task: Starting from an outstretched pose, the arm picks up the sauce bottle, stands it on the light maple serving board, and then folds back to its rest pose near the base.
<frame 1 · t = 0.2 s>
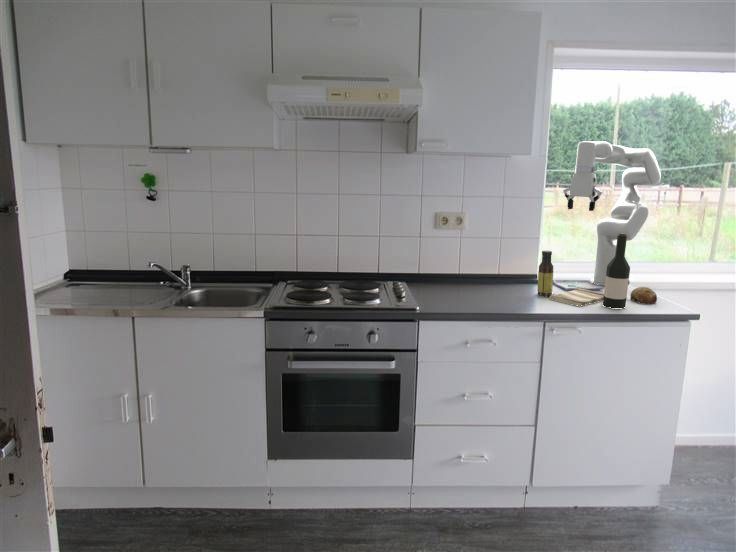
hand: (580, 209, 225), 37 cm above the countertop, tool pointing down, fingers open, 9 cm apart
bread roll: (643, 301, 215), on the countertop
sauce bottle: (544, 296, 223), on the countertop
wine bottle: (613, 307, 207), on the countertop
board: (579, 299, 218), on the countertop
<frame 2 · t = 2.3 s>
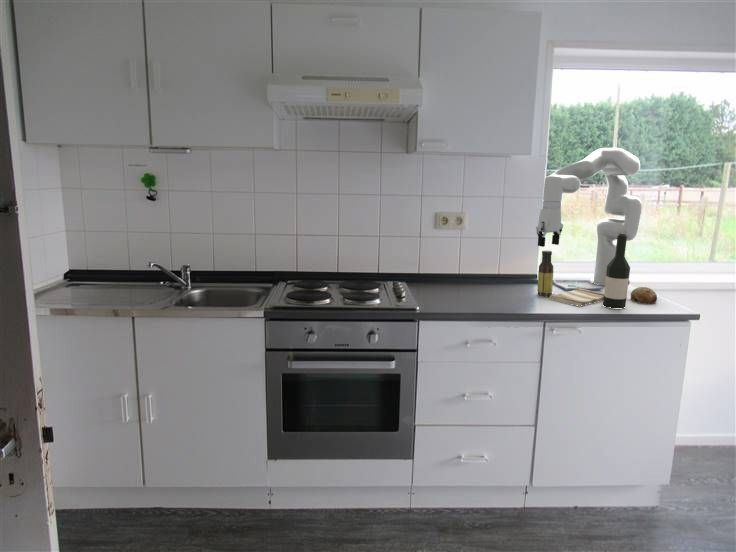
hand: (548, 245, 218), 22 cm above the countertop, tool pointing down, fingers open, 9 cm apart
nothing on the countertop moved.
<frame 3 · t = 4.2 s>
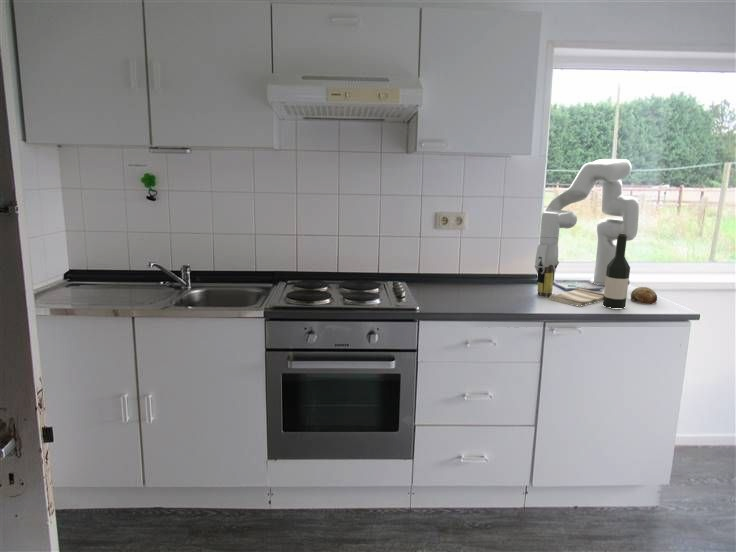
hand: (545, 281, 221), 7 cm above the countertop, tool pointing down, fingers closed on sauce bottle, 6 cm apart
sauce bottle: (544, 296, 223), on the countertop, touching gripper
everything else where it was.
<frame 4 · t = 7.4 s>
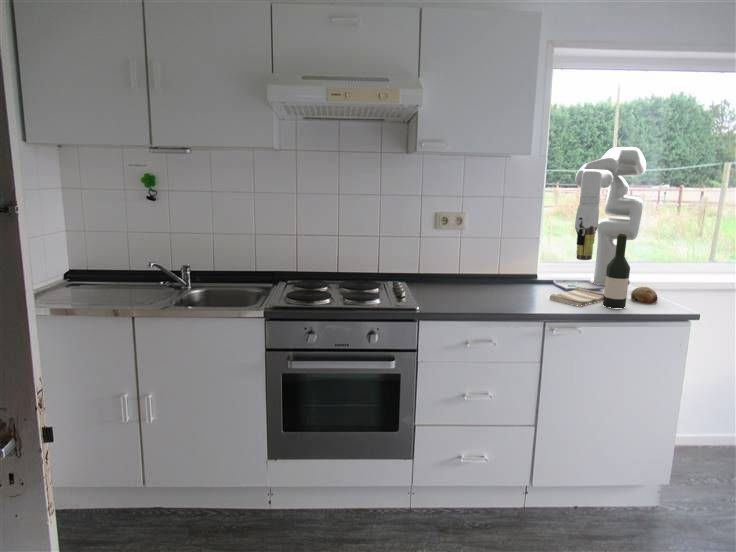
hand: (585, 243, 212), 24 cm above the countertop, tool pointing down, fingers closed on sauce bottle, 6 cm apart
sauce bottle: (583, 259, 214), point 17 cm above the countertop, touching gripper
everything else where it was.
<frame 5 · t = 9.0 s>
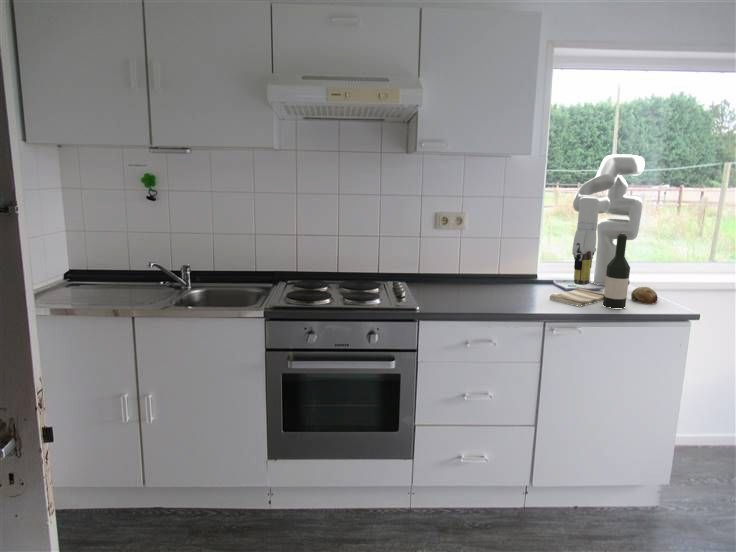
hand: (582, 268, 215), 13 cm above the countertop, tool pointing down, fingers closed on sauce bottle, 6 cm apart
sauce bottle: (580, 284, 216), point 7 cm above the countertop, touching gripper
everything else where it was.
when the fingers open (9 cm above the countertop, at t = 10.5 s): sauce bottle stays where it is, resting on board.
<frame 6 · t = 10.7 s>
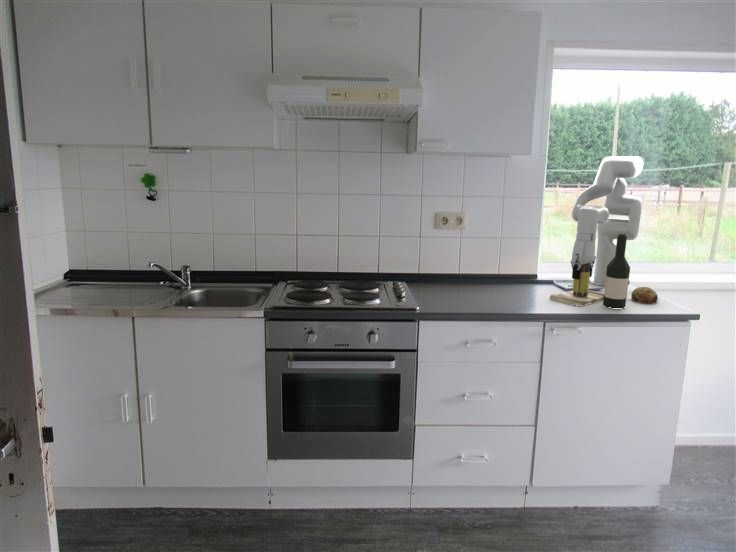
hand: (581, 277, 216), 10 cm above the countertop, tool pointing down, fingers open, 8 cm apart
sauce bottle: (579, 296, 217), point 1 cm above the countertop, touching board
everything else where it was.
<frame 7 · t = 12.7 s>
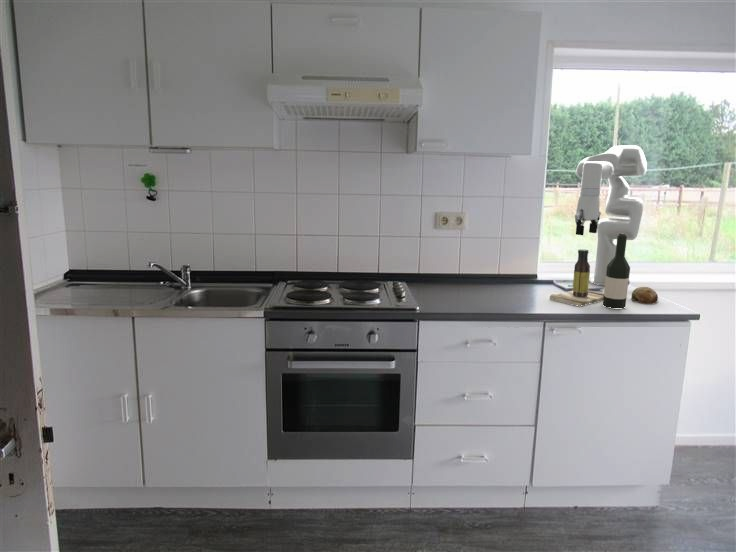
hand: (586, 233, 213), 28 cm above the countertop, tool pointing down, fingers open, 9 cm apart
nothing on the countertop moved.
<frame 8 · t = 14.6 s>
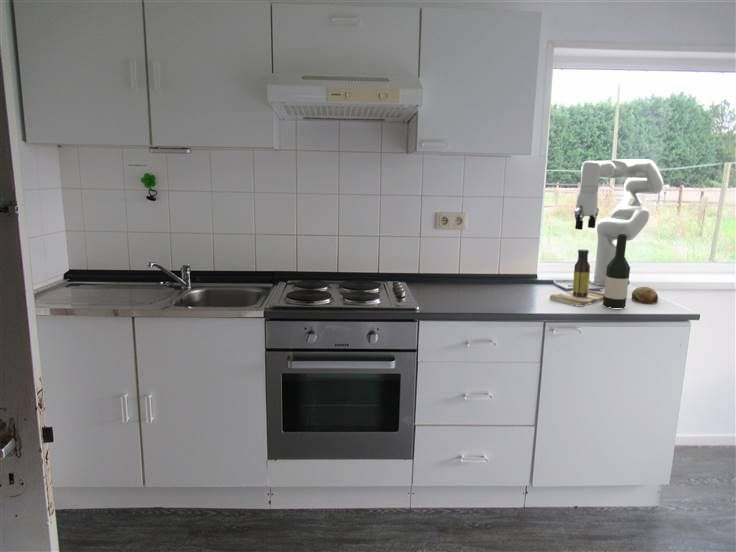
hand: (585, 228, 228), 28 cm above the countertop, tool pointing down, fingers open, 9 cm apart
nothing on the countertop moved.
at the end: sauce bottle inside the target area on the board (0.0 cm from its centre), point 1.3 cm above the board's base; sauce bottle tilted 0°; the gripper is holding nothing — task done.
